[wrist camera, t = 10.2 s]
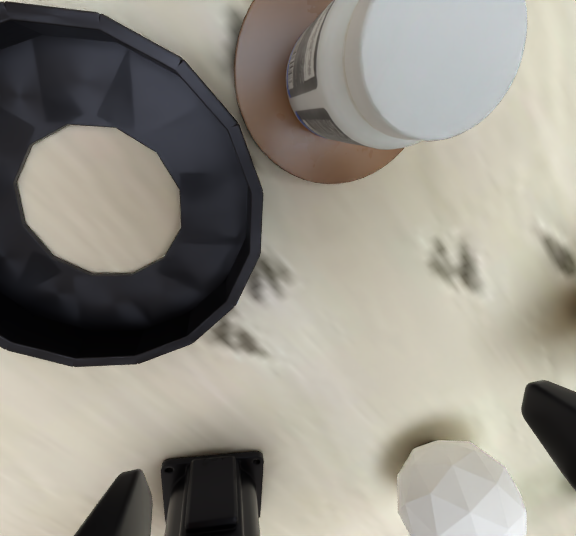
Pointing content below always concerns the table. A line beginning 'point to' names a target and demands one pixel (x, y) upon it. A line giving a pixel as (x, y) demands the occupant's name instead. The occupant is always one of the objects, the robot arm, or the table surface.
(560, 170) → the table surface
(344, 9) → the pill bottle
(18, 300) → the pan
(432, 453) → the ball
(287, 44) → the disc
